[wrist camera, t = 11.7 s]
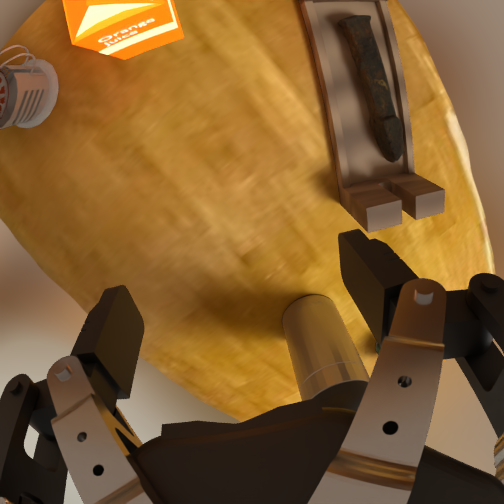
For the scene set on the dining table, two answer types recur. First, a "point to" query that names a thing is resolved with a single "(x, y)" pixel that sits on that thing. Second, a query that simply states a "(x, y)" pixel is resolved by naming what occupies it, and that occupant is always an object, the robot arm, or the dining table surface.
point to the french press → (27, 91)
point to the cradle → (366, 119)
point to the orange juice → (122, 25)
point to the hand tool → (374, 85)
